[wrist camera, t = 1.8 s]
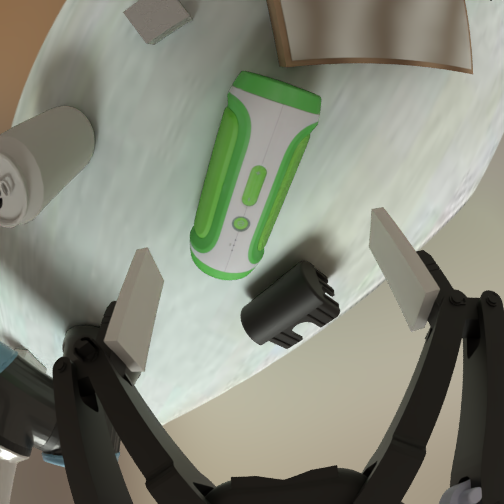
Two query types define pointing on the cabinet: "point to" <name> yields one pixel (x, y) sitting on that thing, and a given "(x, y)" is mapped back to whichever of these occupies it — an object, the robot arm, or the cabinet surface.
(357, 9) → the stand
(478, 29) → the cabinet surface
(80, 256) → the cabinet surface
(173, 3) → the grey square block
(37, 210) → the can
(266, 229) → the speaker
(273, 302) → the end cap
